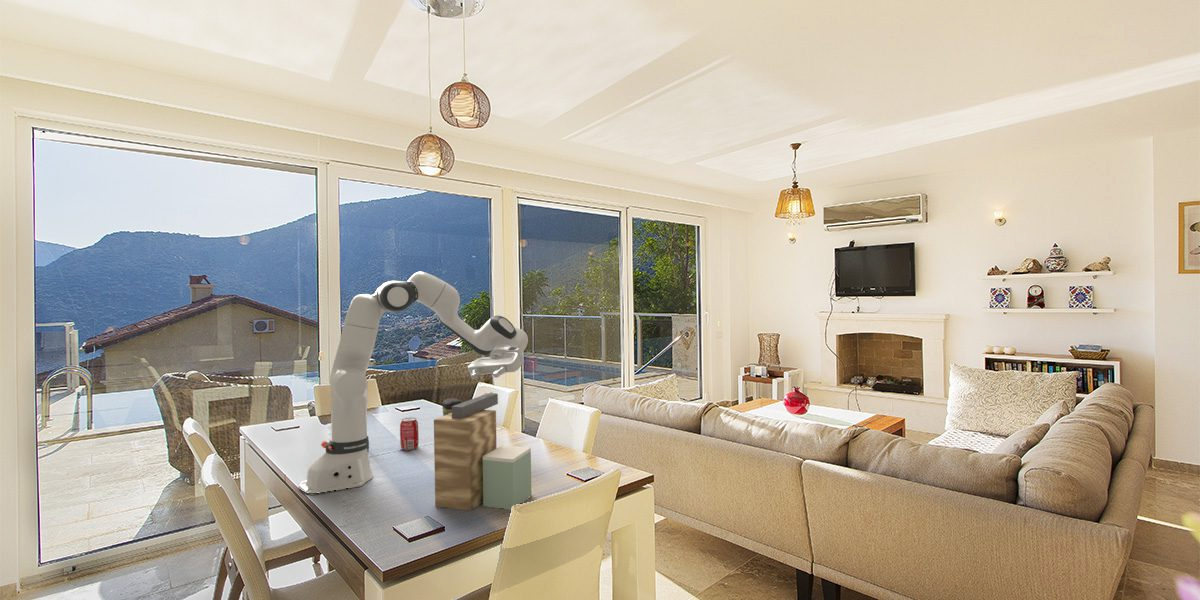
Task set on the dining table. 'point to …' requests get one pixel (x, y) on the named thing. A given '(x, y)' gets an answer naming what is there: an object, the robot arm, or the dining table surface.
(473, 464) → the oak stand
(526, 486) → the block
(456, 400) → the coffee jar
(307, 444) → the dining table surface
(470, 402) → the grey bar with knob
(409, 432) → the soda can
